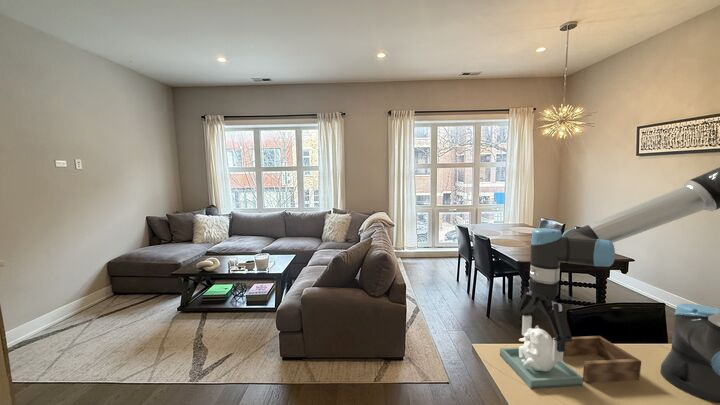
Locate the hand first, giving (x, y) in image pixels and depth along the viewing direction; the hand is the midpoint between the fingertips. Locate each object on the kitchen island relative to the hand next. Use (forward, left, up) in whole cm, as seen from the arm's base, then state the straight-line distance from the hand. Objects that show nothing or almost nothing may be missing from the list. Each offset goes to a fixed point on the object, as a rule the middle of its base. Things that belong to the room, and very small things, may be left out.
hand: (540, 346), depth 90 cm
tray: (0, 0, -7) cm, 8 cm away
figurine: (+1, 0, -7) cm, 7 cm away
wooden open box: (-15, -10, -7) cm, 19 cm away
